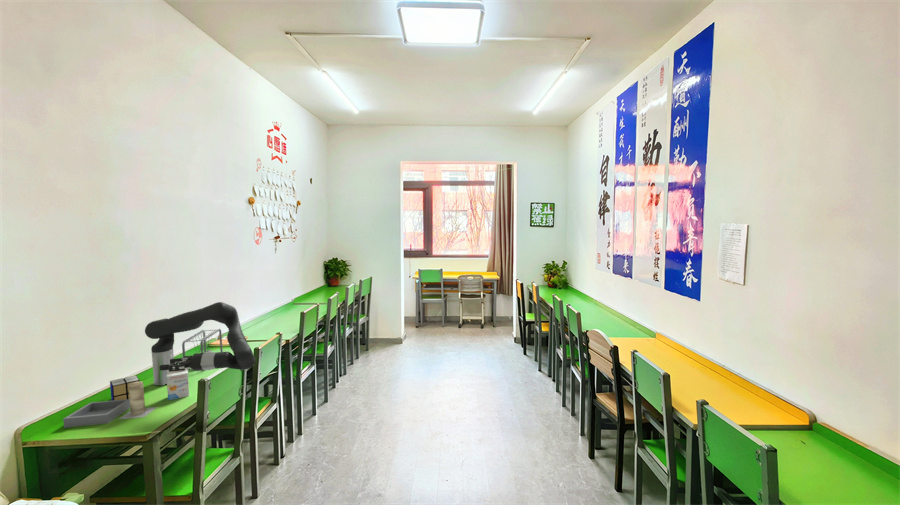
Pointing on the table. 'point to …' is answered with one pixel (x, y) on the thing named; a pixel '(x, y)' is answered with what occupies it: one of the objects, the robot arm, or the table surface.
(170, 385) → the ink box
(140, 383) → the wooden canister
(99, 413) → the tray
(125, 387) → the puzzle cube
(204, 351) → the newton's cradle
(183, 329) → the robot arm
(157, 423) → the table surface
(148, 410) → the rubber mat
